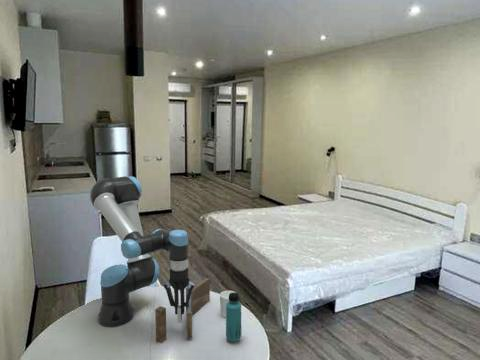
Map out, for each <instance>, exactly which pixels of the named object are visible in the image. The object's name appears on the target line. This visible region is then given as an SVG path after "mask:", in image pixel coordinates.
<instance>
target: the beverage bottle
mask: <svg viewBox="0 0 480 360" xmlns="http://www.w3.org/2000/svg"><path fill="white" fill-rule="evenodd" d="M239 300H240V298H239V293H237V292H236V293H230V294H229V302H228V303H227V304H226V318H225V337H226V339H227V340H229V341H231V342H236V341H237V342H238V341H239V340H240V339H241V338H242V303H241V302H240V301H239Z"/></svg>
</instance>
